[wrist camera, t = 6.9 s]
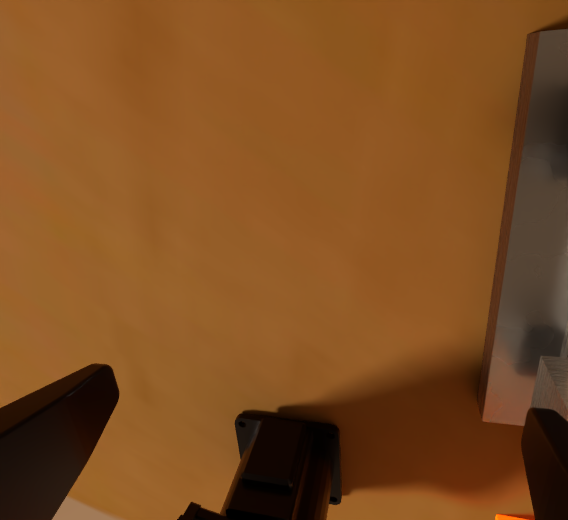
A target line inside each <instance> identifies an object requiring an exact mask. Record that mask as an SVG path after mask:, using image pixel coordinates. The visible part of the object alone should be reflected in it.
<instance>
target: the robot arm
mask: <svg viewBox="0 0 568 520" xmlns="http://www.w3.org/2000/svg"><path fill="white" fill-rule="evenodd" d="M118 399H119V389H118V386H117V382H116V379H115V376H114V372H113V369H112V368H111V367H110V366H109V365H107V364H97V363H96V364H91V365H89V366H87V367H84V368H82V369H80V370H78V371H76V372H74V373H72V374H70V375H68V376H66V377H64V378H62V379H60V380H58V381H55V382H53V383H51V384H49V385H47V386H45V387H43V388H41V389H39V390H37V391H35V392H33V393H31V394H29V395H26V396H24V397H22V398H20V399H18V400H16V401H14V402H12V403H10V404H8V405H6V406H4V407H2V408H0V520H52V518H53V517H54V515H55V514H56V512H57V510H58V509H59V507H60V506H61V504H62V502H63V501H64V499H65V497H66V496H67V494H68V493H69V491H70V489H71V488H72V486H73V485H74V483H75V481H76V480H77V478H78V476H79V475H80V473H81V472H82V470H83V468H84V467H85V465H86V463H87V461H88V460H89V458H90V456H91V454H92V452H93V450H94V448H95V446H96V444H97V442H98V440H99V438H100V436H101V434H102V432H103V430H104V428H105V426H106V424H107V422H108V420H109V418H110V416H111V414H112V412H113V410H114V408H115V406H116V404H117V402H118ZM242 421H243V422H242ZM244 422H245V423H244ZM235 428H236V434H237V440H238V446H239V452H240V458H241V461H240V464H239V466H238V469H237V471H236V474H235V477H234V479H233V482H232V484H231V487H230V489H229V492H228V494H227V497H226V500H225V502H224V505H223V507H222V510H221V512H220V514H219V513H216V512H213V511H210V510H207V509H204V508H202V507H201V505H199V504H196V503H193V502H191V503H190V505H189V506H188V508H187V510H186V511H185V513H184V515H180V517H179V519H177V520H326V518H327V512H328V505H329V504H333V505H337V504H340V503H341V498H342V484H341V454H340V431H339V428H338V427H337V426H335V425H332V424H325V423H317V422H308V421H300V420H292V419H284V418H276V417H268V416H259V415H251V414H239V415H238V416H237V418H236V420H235ZM331 433H333V434H331ZM521 447H522V455H523V460H524V465H525V470H526V475H527V480H528V485H529V490H530V495H531V500H532V505H533V510H534V516H535V520H568V421H567V420H566V419H565V418H564V417H563V416H561V415H560V414H559V413H558V412H557V411H555V410H553V409H547V408H537V407H532V408H530V409H529V410H528V411H527V415H526V420H525V425H524V430H523V435H522V441H521Z"/></svg>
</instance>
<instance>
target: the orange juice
mask: <svg viewBox="0 0 568 520" xmlns="http://www.w3.org/2000/svg"><path fill="white" fill-rule="evenodd" d="M495 520H527V519H522V518H516V517H510V516H505V515H499V514H496V519H495Z"/></svg>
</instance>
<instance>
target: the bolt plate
mask: <svg viewBox="0 0 568 520" xmlns="http://www.w3.org/2000/svg"><path fill="white" fill-rule="evenodd" d="M477 402H478V406H479V410H480V414H481V418H482V421H483V422H492V423H502V424H511V425H520V426H524V425H525V420H526V415H527V411H528V410H529V409H530V408H532V407H537V408H547V409H553V410H555V411H557V412H558V413H559V414H560V415H561V416H563V417H564V418H565V419H566V420H567V421H568V29H561V30H551V31H541V32H536V33H531V34H528V35H527V42H526V49H525V57H524V64H523V71H522V78H521V86H520V93H519V100H518V107H517V114H516V122H515V129H514V136H513V143H512V151H511V158H510V165H509V172H508V180H507V187H506V194H505V201H504V209H503V216H502V223H501V230H500V237H499V245H498V252H497V259H496V266H495V274H494V281H493V288H492V295H491V303H490V310H489V317H488V324H487V332H486V339H485V346H484V353H483V360H482V368H481V375H480V382H479V389H478V397H477Z"/></svg>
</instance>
